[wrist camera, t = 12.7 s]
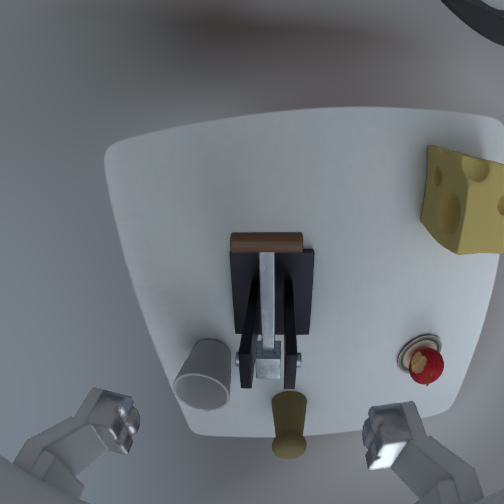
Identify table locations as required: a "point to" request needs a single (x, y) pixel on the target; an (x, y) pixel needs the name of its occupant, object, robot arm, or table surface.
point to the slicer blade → (267, 289)
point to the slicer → (286, 307)
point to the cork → (289, 424)
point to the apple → (422, 359)
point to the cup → (205, 376)
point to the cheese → (464, 202)
